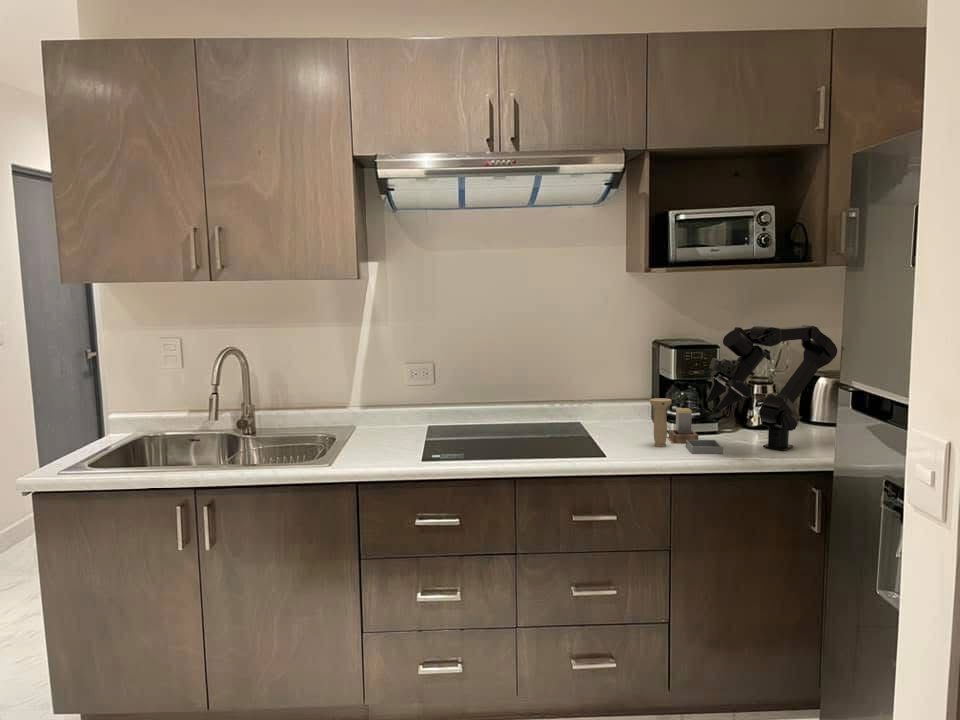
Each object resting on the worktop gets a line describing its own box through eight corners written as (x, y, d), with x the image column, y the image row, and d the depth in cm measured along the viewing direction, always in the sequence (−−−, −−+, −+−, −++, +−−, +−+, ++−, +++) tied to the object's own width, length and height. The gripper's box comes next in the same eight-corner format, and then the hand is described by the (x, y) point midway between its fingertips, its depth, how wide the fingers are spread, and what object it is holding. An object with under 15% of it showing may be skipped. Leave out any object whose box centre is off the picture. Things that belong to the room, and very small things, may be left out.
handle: (647, 445, 210) (648, 398, 208) (667, 445, 210) (668, 398, 209) (652, 449, 205) (652, 401, 203) (672, 448, 206) (673, 400, 204)
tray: (714, 447, 206) (715, 439, 206) (722, 455, 197) (722, 447, 197) (685, 447, 207) (685, 439, 206) (692, 455, 198) (692, 447, 198)
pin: (688, 438, 216) (688, 408, 215) (691, 441, 212) (691, 410, 211) (675, 438, 216) (676, 408, 215) (678, 441, 212) (678, 410, 211)
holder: (694, 438, 218) (694, 429, 218) (701, 445, 209) (701, 435, 209) (666, 438, 219) (666, 429, 219) (671, 445, 210) (671, 435, 210)
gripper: (714, 343, 205) (682, 383, 208) (737, 352, 187) (701, 396, 189) (742, 364, 207) (709, 404, 209) (767, 375, 188) (732, 419, 190)
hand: (712, 405), depth 199 cm, fingers open, 9 cm apart
